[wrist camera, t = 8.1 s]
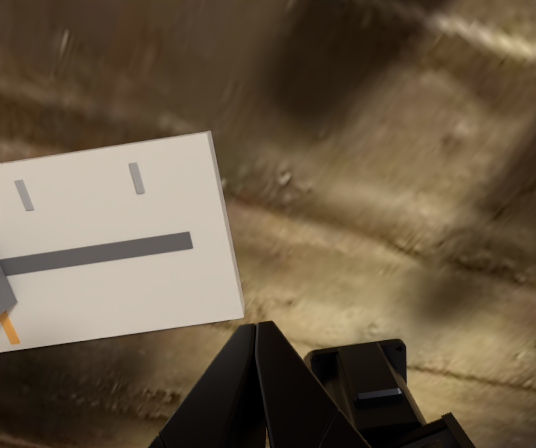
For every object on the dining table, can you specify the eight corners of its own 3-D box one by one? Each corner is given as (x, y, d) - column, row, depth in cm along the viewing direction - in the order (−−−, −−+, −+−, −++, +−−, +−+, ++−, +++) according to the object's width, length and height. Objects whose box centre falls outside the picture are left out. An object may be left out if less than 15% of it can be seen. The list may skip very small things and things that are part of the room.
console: (244, 304, 22) (243, 318, 20) (-54, 346, 22) (-77, 364, 21) (210, 130, 18) (206, 132, 17) (-145, 185, 19) (-181, 192, 17)
